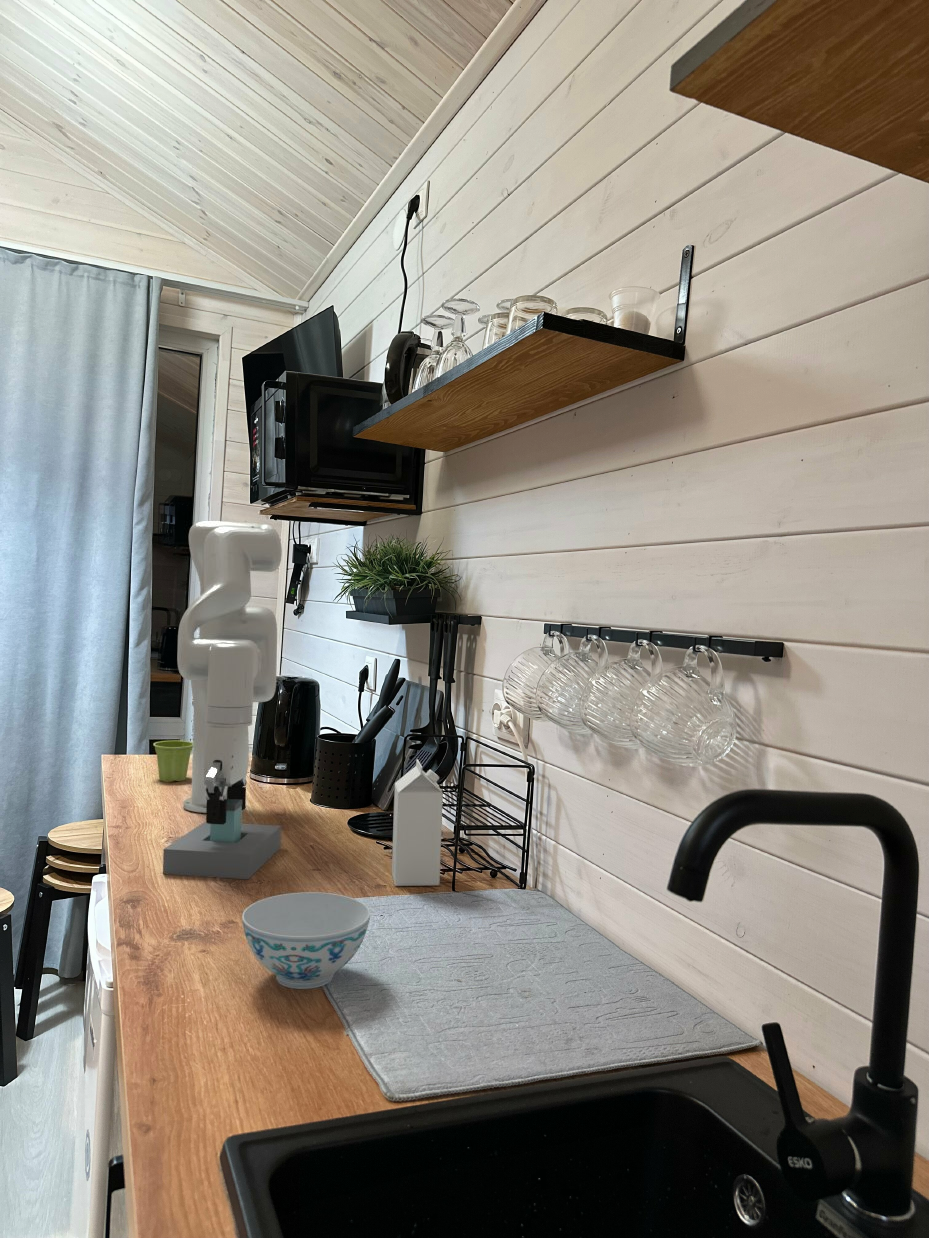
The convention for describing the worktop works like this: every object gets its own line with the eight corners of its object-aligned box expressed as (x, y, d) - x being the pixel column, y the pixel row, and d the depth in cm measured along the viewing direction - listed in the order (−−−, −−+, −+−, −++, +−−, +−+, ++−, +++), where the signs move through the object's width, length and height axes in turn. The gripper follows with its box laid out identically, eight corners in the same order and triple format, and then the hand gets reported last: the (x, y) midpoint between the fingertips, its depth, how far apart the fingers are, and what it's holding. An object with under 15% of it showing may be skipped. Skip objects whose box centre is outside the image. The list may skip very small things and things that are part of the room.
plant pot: (200, 777, 217) (202, 742, 217) (180, 785, 208) (181, 748, 208) (166, 774, 219) (167, 739, 219) (144, 781, 210) (145, 745, 210)
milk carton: (394, 887, 141) (399, 767, 140) (391, 873, 148) (395, 758, 147) (439, 886, 142) (444, 767, 141) (434, 872, 149) (438, 759, 148)
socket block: (204, 843, 161) (205, 821, 161) (280, 848, 160) (281, 825, 160) (162, 873, 143) (163, 848, 143) (248, 879, 142) (249, 854, 142)
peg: (217, 856, 153) (218, 798, 153) (240, 857, 153) (242, 799, 153) (208, 863, 149) (210, 803, 149) (232, 864, 149) (234, 805, 149)
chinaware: (287, 943, 116) (289, 885, 116) (389, 966, 110) (392, 904, 110) (213, 988, 102) (215, 922, 102) (326, 1016, 97) (328, 946, 96)
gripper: (225, 708, 160) (222, 803, 160) (188, 721, 142) (184, 828, 143) (266, 710, 159) (263, 805, 159) (234, 724, 142) (230, 831, 142)
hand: (226, 816), depth 151 cm, fingers open, 9 cm apart
